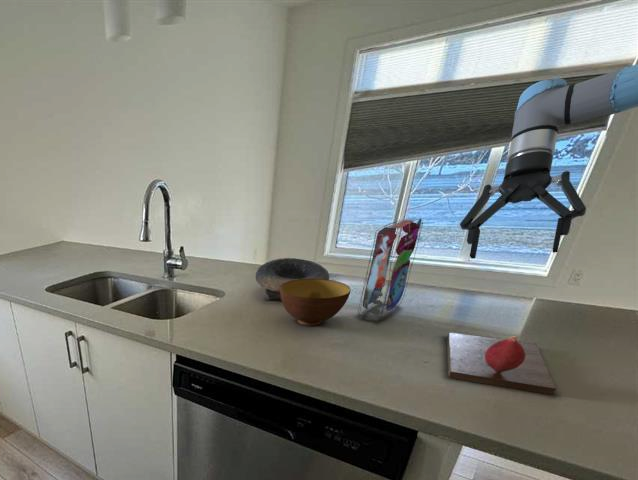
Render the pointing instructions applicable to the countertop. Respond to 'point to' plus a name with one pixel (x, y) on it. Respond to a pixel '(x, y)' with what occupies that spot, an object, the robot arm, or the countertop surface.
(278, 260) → the grinding stone
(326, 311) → the bowl
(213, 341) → the countertop surface
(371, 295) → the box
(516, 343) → the onion
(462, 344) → the cutting board
